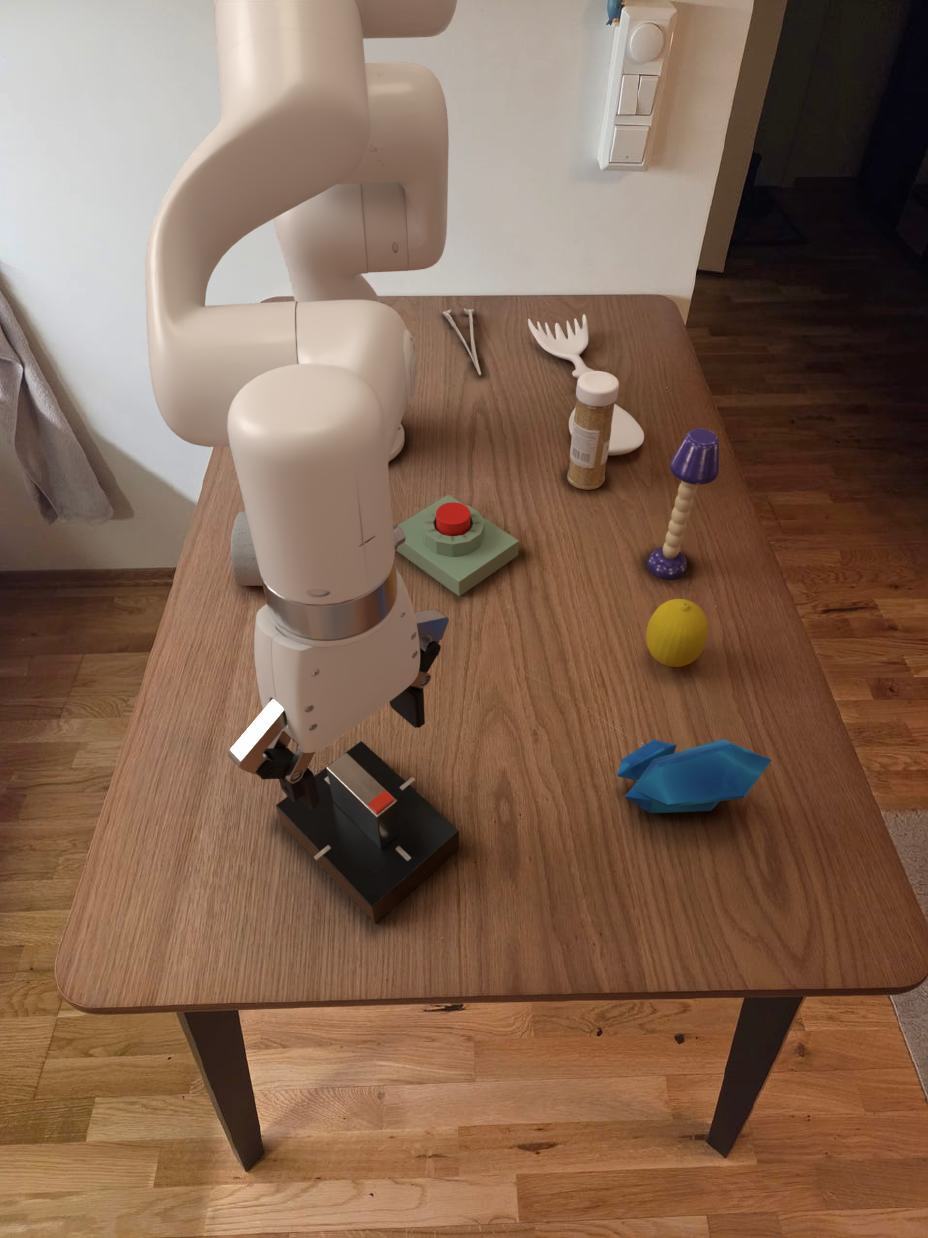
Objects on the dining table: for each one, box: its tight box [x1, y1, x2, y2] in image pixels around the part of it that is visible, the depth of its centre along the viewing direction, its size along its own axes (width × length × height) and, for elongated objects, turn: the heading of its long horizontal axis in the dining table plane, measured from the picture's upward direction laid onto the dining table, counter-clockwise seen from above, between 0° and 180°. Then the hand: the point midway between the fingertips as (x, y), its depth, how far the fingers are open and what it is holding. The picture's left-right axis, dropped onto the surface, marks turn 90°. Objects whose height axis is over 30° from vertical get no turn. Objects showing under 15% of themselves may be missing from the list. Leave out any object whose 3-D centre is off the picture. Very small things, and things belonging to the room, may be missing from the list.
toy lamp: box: [646, 428, 720, 580], centre depth 86 cm, size 5×5×17 cm
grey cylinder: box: [230, 510, 263, 587], centre depth 90 cm, size 11×8×8 cm
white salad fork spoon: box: [527, 313, 645, 456], centre depth 114 cm, size 9×32×4 cm, turn 10°
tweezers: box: [442, 308, 482, 376], centre depth 124 cm, size 17×5×2 cm, turn 11°
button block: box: [396, 494, 520, 597], centre depth 93 cm, size 11×9×4 cm
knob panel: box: [275, 740, 460, 925], centre depth 69 cm, size 12×10×3 cm
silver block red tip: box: [325, 752, 400, 849], centre depth 66 cm, size 6×2×5 cm, turn 45°
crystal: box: [616, 738, 772, 814], centre depth 70 cm, size 7×9×12 cm
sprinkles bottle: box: [566, 370, 620, 491], centre depth 98 cm, size 5×5×14 cm
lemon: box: [645, 598, 709, 668], centre depth 81 cm, size 6×6×8 cm
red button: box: [436, 502, 470, 537], centre depth 91 cm, size 4×4×2 cm
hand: (356, 753), depth 61 cm, fingers open, 9 cm apart
